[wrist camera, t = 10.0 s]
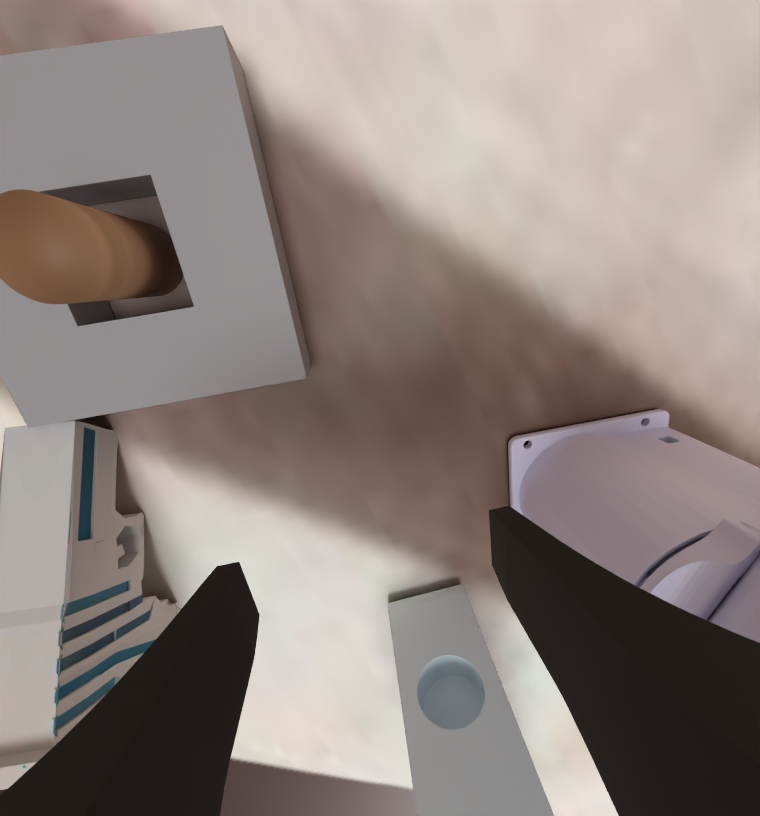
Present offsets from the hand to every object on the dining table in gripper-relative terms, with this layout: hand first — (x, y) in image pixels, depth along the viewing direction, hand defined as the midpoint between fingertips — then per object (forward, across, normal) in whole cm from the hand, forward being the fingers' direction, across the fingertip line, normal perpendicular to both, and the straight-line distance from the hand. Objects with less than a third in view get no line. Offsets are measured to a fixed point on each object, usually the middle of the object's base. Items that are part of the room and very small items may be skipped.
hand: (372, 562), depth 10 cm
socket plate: (+10, +8, -10) cm, 16 cm away
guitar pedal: (+10, -3, +24) cm, 26 cm away
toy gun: (+10, +14, +4) cm, 18 cm away
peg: (+10, +8, -10) cm, 16 cm away
